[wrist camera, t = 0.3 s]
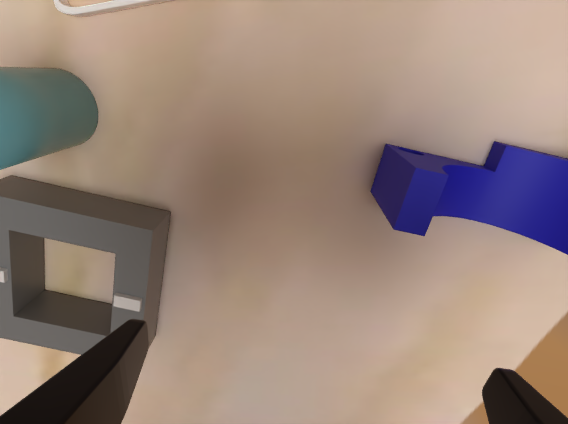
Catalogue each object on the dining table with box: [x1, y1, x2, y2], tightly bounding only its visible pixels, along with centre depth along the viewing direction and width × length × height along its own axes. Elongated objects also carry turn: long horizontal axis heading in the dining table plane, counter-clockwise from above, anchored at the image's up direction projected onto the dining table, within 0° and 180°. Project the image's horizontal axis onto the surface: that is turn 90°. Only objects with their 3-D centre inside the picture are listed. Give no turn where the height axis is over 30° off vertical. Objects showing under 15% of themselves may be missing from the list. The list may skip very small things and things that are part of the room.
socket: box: [0, 175, 171, 355], centre depth 23 cm, size 10×10×3 cm
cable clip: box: [371, 141, 568, 255], centre depth 19 cm, size 12×4×6 cm, turn 78°
